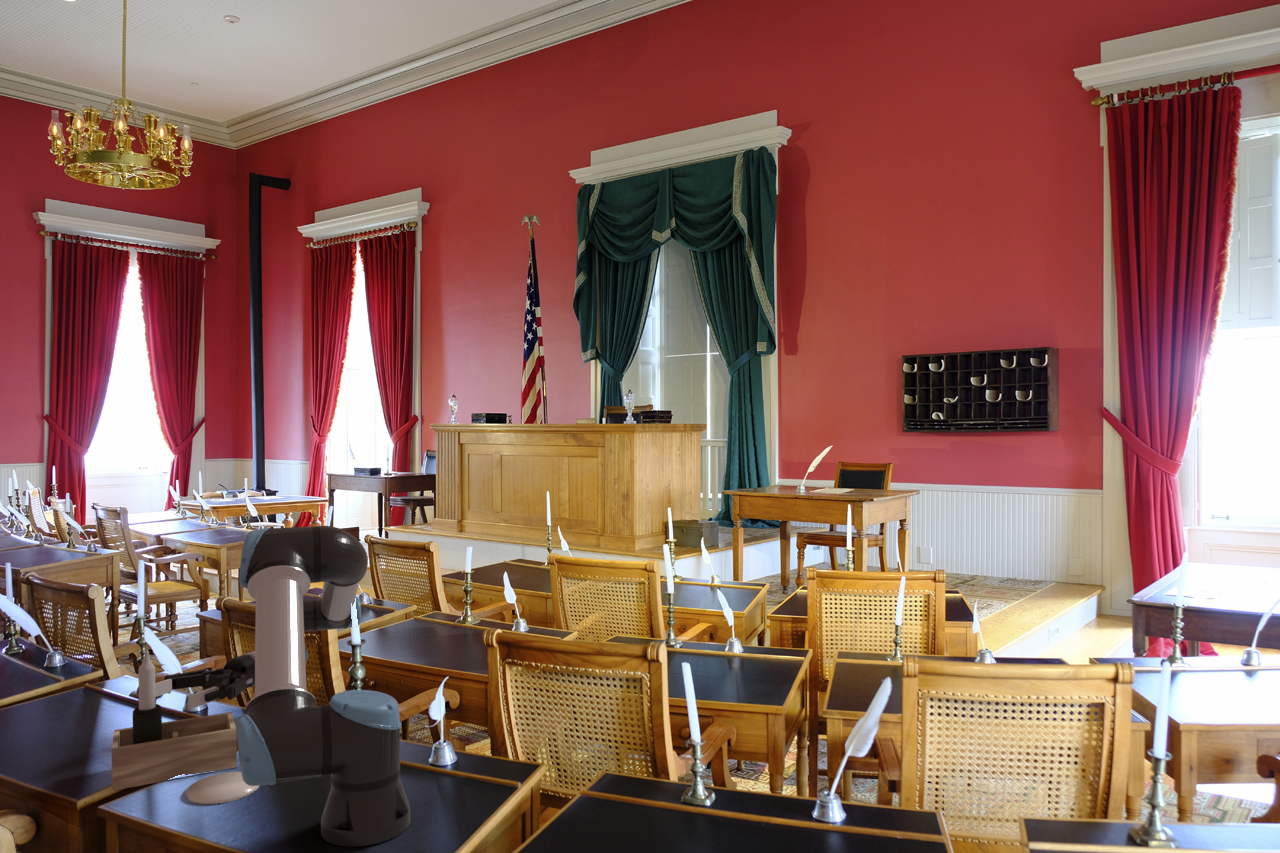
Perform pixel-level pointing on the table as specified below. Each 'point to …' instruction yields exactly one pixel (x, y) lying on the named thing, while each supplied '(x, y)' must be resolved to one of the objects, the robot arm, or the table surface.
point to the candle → (147, 706)
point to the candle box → (175, 751)
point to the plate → (219, 789)
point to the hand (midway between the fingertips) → (165, 698)
